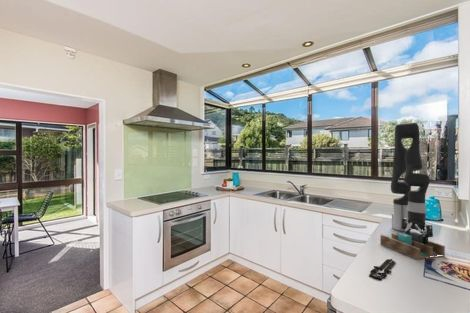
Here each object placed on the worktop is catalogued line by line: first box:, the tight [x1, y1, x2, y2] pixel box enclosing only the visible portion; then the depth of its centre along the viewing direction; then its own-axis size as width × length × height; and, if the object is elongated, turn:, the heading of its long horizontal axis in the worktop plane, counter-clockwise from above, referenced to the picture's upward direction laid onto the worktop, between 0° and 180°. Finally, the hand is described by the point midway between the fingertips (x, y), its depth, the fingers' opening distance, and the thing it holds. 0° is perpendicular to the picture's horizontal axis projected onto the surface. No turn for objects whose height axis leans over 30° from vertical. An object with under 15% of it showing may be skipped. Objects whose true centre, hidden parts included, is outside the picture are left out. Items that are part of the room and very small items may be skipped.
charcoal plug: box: [410, 231, 423, 244], centre depth 118 cm, size 4×4×7 cm
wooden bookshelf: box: [379, 233, 446, 261], centre depth 117 cm, size 20×18×5 cm
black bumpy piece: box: [368, 258, 396, 281], centre depth 96 cm, size 25×6×1 cm, turn 126°
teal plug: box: [397, 232, 412, 245], centre depth 116 cm, size 4×4×7 cm
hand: (416, 241), depth 118 cm, fingers open, 8 cm apart
